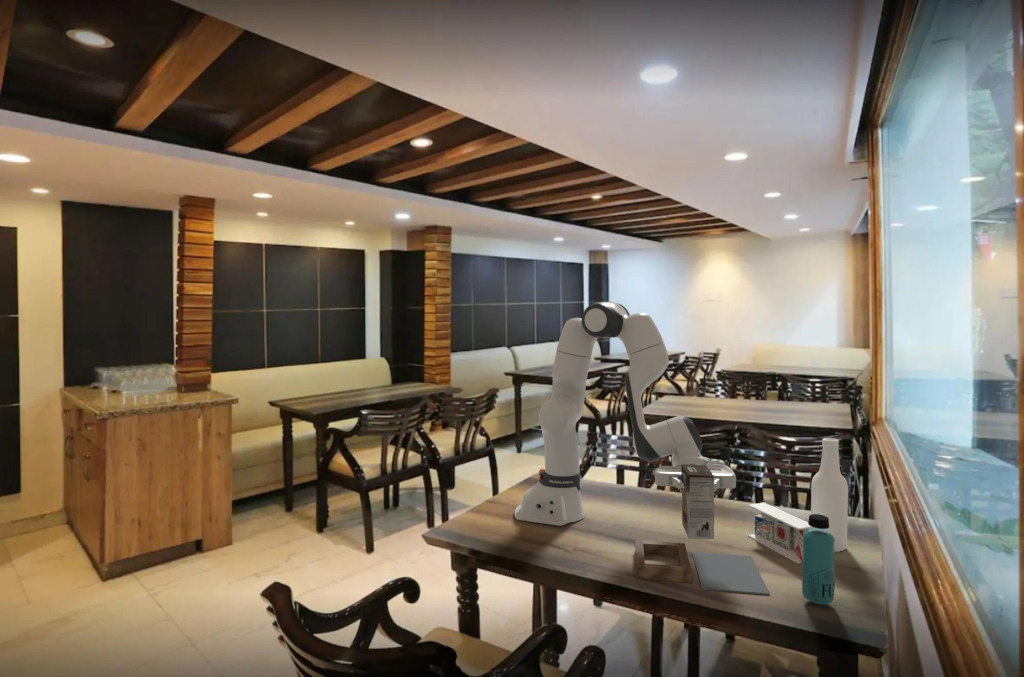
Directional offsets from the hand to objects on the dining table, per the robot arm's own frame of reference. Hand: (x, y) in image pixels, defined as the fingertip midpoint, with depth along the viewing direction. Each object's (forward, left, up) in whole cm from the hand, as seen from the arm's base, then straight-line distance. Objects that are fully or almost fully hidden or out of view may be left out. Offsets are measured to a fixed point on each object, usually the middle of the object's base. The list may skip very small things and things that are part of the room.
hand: (697, 486), depth 141 cm
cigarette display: (+24, +18, -22) cm, 37 cm away
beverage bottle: (+25, -11, -22) cm, 35 cm away
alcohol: (+38, +22, -22) cm, 48 cm away
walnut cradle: (-8, +2, -22) cm, 23 cm away
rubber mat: (+8, +1, -22) cm, 23 cm away
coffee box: (0, +1, -12) cm, 12 cm away
